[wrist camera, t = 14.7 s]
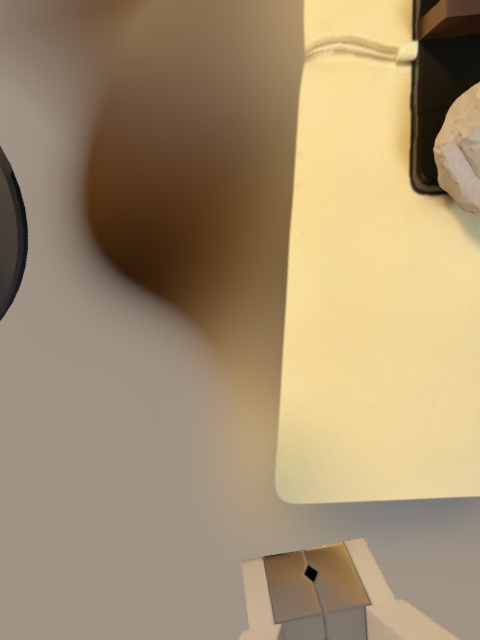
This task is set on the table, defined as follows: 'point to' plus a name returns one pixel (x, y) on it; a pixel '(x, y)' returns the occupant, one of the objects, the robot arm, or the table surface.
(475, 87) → the fossil replica
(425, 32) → the corner stop
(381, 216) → the table surface
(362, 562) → the robot arm
